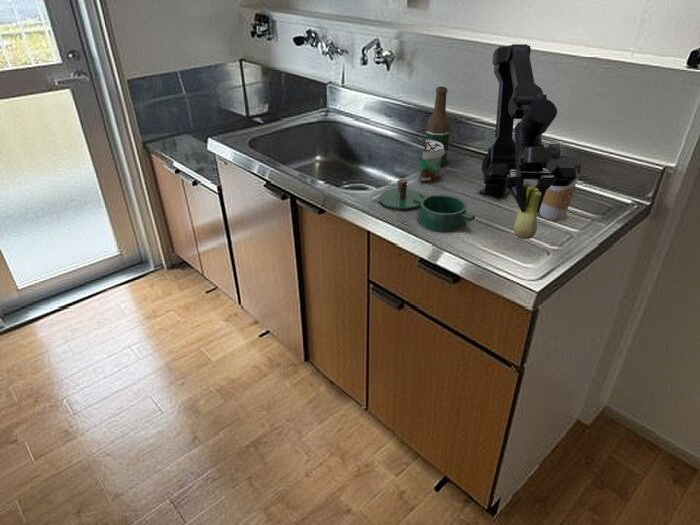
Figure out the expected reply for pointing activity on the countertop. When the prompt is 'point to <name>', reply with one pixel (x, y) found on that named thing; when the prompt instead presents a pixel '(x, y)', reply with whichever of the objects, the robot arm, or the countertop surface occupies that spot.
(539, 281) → the countertop surface
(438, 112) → the beer bottle
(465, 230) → the countertop surface
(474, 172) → the countertop surface
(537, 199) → the fennel bulb
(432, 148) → the green food package
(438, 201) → the pot
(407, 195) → the lid
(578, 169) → the coffee cup
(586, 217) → the countertop surface
